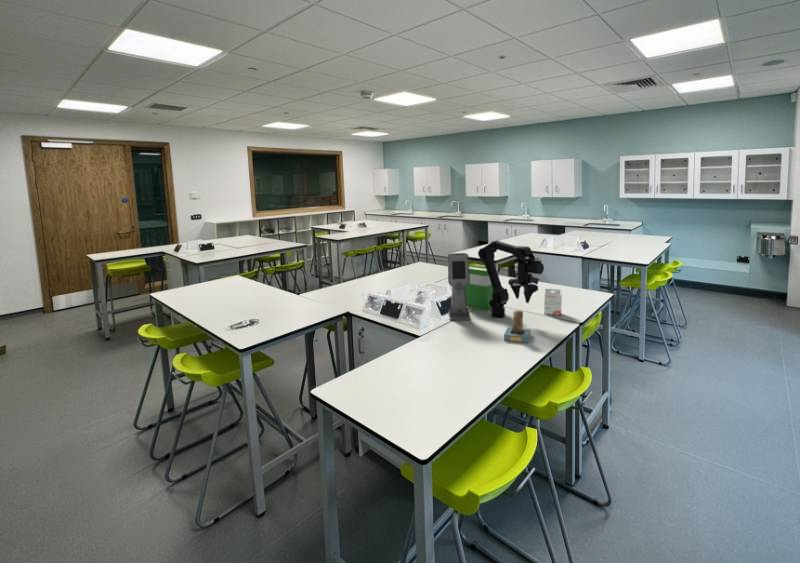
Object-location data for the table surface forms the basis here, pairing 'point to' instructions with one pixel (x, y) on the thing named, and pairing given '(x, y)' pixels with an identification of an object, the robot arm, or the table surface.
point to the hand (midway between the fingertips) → (522, 300)
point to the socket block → (517, 335)
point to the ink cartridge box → (553, 302)
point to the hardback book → (479, 288)
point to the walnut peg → (517, 322)
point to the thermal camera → (458, 285)
